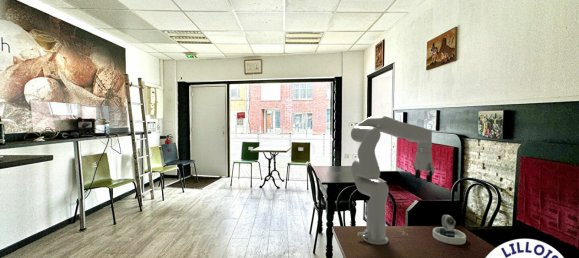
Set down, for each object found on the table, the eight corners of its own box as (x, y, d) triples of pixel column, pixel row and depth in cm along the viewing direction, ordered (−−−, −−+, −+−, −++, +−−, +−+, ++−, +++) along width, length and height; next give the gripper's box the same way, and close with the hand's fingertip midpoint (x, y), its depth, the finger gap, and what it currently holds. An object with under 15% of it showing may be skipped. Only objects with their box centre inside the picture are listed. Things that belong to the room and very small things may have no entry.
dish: (447, 245, 138) (447, 239, 138) (426, 233, 153) (426, 228, 153) (472, 243, 141) (473, 237, 141) (450, 231, 156) (450, 226, 156)
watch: (445, 238, 144) (446, 218, 143) (438, 232, 152) (438, 212, 151) (456, 239, 143) (457, 218, 143) (448, 232, 152) (449, 213, 151)
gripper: (409, 149, 167) (408, 177, 167) (428, 152, 150) (427, 183, 150) (419, 148, 168) (419, 176, 169) (440, 152, 151) (439, 183, 152)
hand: (423, 179), depth 160 cm, fingers open, 9 cm apart
